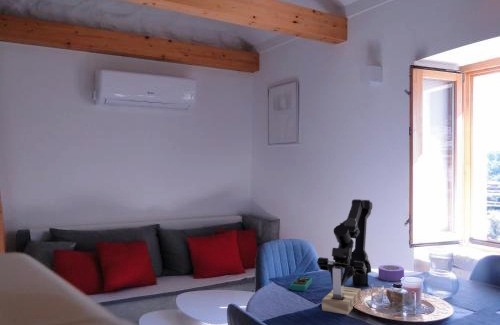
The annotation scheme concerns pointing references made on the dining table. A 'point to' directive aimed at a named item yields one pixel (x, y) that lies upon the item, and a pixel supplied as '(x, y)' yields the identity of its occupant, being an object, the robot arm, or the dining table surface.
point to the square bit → (338, 283)
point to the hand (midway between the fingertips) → (337, 284)
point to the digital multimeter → (301, 283)
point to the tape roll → (391, 272)
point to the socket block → (338, 305)
